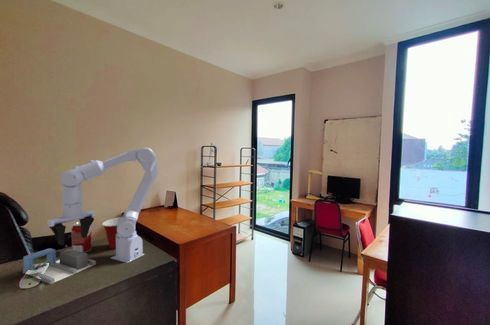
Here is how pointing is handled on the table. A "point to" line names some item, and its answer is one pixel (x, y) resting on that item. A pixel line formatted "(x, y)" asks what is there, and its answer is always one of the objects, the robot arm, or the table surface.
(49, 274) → the sliding block fixture
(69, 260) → the grey rectangular block
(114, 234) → the plastic cup
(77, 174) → the robot arm
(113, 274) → the table surface
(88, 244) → the soda can
